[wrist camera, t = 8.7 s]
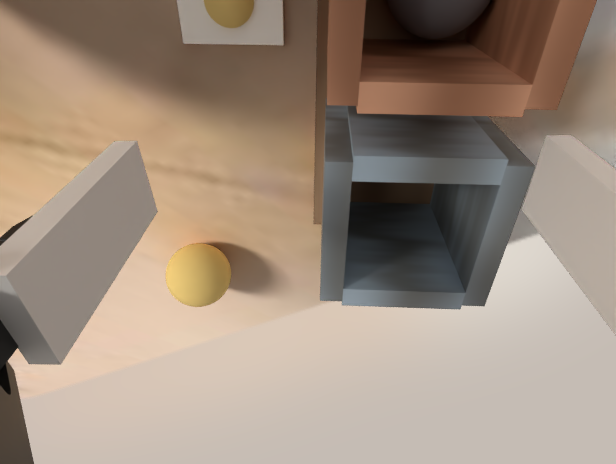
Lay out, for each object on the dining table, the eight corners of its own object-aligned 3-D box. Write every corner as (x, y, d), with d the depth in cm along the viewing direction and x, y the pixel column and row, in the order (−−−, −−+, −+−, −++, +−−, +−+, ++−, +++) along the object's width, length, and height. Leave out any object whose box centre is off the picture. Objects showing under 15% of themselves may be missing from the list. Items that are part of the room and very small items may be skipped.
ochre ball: (182, 276, 35) (163, 319, 31) (172, 229, 32) (149, 270, 28) (239, 278, 35) (227, 321, 31) (233, 231, 32) (219, 272, 28)
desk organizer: (314, 213, 31) (308, 314, 22) (321, -164, 19) (315, -259, 10) (444, 216, 31) (490, 320, 22) (537, -164, 18) (717, -262, 10)
